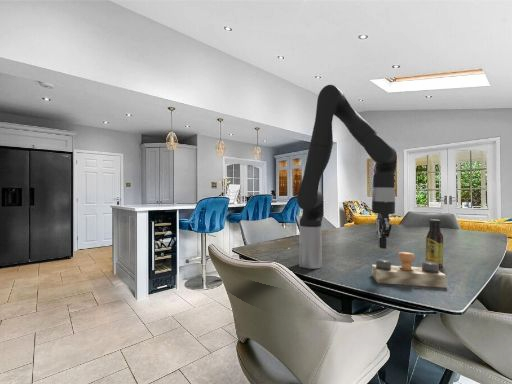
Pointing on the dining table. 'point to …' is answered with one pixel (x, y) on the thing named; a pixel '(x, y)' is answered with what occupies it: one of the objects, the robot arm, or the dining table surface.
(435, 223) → the sauce bottle
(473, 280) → the dining table surface
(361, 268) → the dining table surface
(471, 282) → the dining table surface
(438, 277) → the knob mount
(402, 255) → the middle knob
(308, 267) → the robot arm
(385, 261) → the left knob
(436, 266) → the right knob
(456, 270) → the dining table surface
